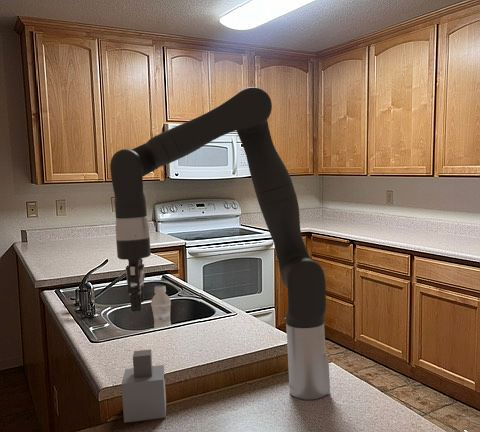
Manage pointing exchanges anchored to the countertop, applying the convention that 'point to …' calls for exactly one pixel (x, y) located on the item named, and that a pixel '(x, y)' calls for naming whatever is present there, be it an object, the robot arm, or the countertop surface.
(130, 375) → the stepped gray cube pair
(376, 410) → the countertop surface
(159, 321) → the plastic bottle
